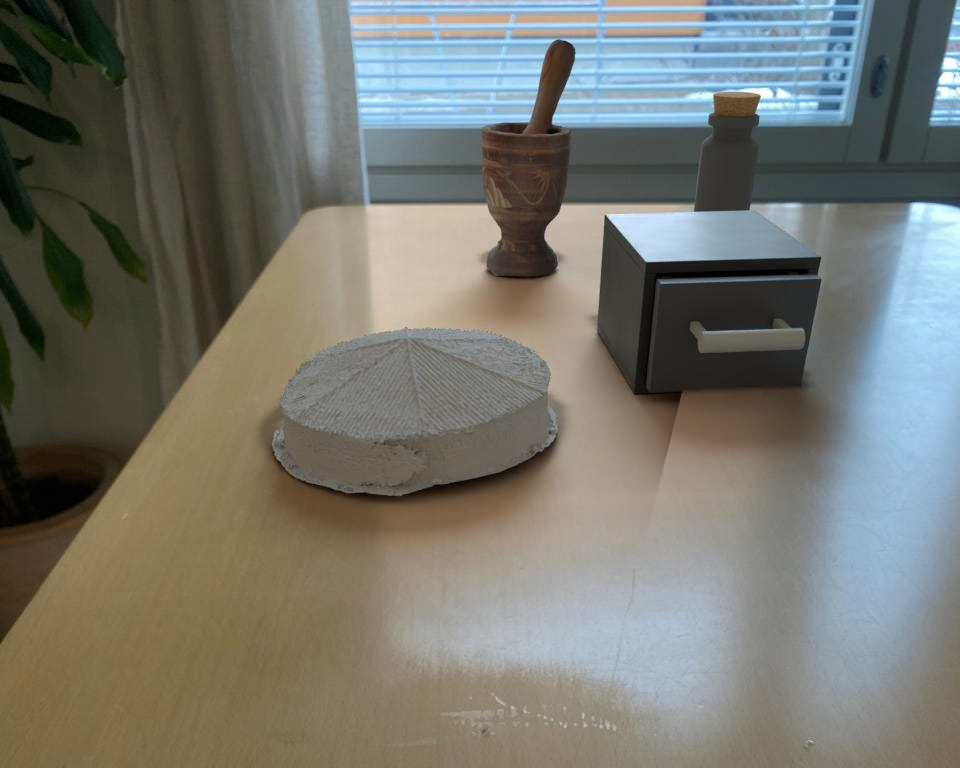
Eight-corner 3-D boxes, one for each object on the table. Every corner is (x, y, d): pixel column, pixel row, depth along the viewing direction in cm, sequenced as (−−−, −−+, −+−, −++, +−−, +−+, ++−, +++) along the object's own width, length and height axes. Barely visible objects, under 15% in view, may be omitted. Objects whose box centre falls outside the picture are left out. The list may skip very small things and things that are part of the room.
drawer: (822, 409, 69) (846, 296, 64) (663, 415, 68) (676, 302, 63) (743, 328, 83) (758, 231, 78) (611, 332, 82) (619, 235, 78)
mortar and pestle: (497, 248, 108) (499, 36, 96) (574, 253, 106) (585, 38, 95) (473, 277, 99) (471, 47, 87) (557, 282, 97) (567, 49, 85)
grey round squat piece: (594, 488, 61) (601, 383, 57) (270, 514, 58) (254, 405, 54) (529, 374, 77) (531, 285, 73) (272, 390, 74) (260, 299, 70)
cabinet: (796, 387, 74) (821, 256, 69) (633, 394, 73) (646, 262, 68) (737, 326, 86) (755, 210, 80) (596, 331, 85) (604, 214, 80)
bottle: (726, 241, 110) (747, 89, 101) (753, 253, 106) (778, 96, 97) (679, 245, 109) (697, 92, 100) (705, 258, 104) (726, 99, 95)
